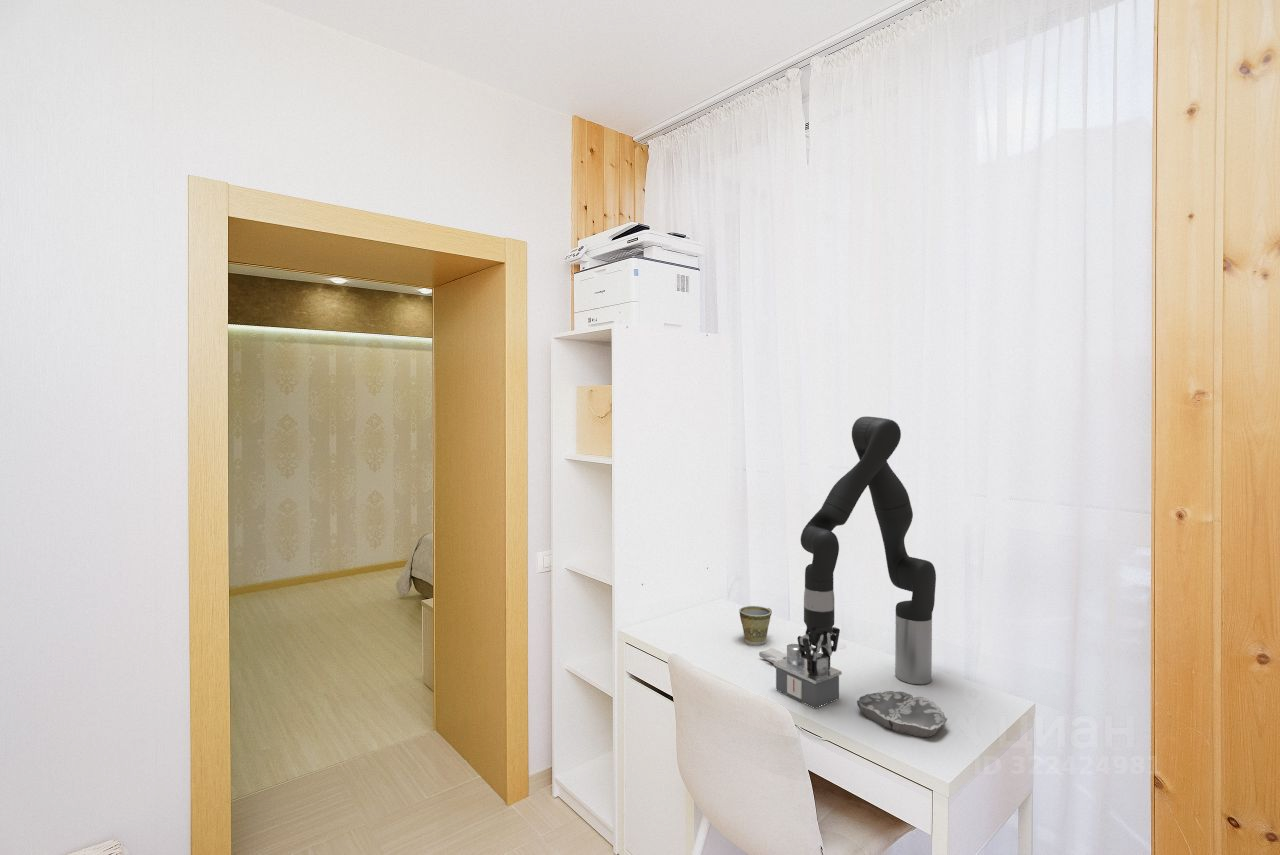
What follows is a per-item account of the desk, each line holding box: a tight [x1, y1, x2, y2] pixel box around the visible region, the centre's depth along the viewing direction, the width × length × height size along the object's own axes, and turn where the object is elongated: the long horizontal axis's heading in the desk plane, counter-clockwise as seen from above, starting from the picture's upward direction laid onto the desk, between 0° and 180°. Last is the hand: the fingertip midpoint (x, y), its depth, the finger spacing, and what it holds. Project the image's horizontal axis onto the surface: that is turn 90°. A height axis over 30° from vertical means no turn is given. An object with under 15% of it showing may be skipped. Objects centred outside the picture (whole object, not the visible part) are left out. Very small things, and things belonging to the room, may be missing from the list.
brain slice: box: [856, 691, 948, 738], centre depth 150 cm, size 20×17×3 cm
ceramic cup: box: [738, 605, 773, 646], centre depth 201 cm, size 13×10×10 cm
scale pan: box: [773, 658, 843, 684], centre depth 163 cm, size 14×10×1 cm
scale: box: [775, 666, 840, 709], centre depth 163 cm, size 13×10×6 cm
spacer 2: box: [811, 652, 828, 676], centre depth 160 cm, size 5×5×4 cm
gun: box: [758, 647, 787, 665], centre depth 180 cm, size 18×3×10 cm
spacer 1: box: [786, 643, 805, 665], centre depth 166 cm, size 5×5×4 cm
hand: (818, 671), depth 160 cm, fingers closed on spacer 2, 4 cm apart
